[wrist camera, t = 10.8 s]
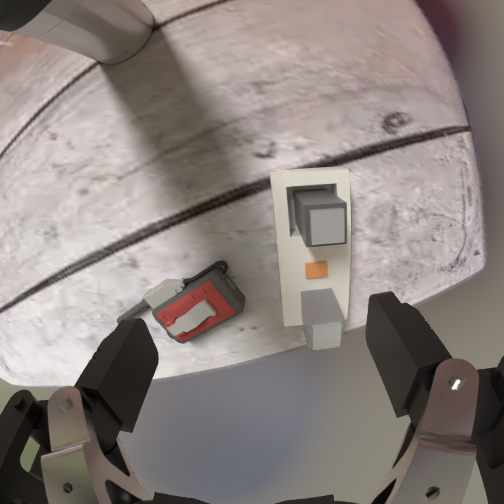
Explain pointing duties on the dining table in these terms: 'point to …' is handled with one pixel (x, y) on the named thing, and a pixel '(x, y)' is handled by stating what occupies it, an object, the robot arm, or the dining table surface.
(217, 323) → the walkie-talkie
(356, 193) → the dining table surface
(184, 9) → the dining table surface
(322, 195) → the plug
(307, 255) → the power strip
